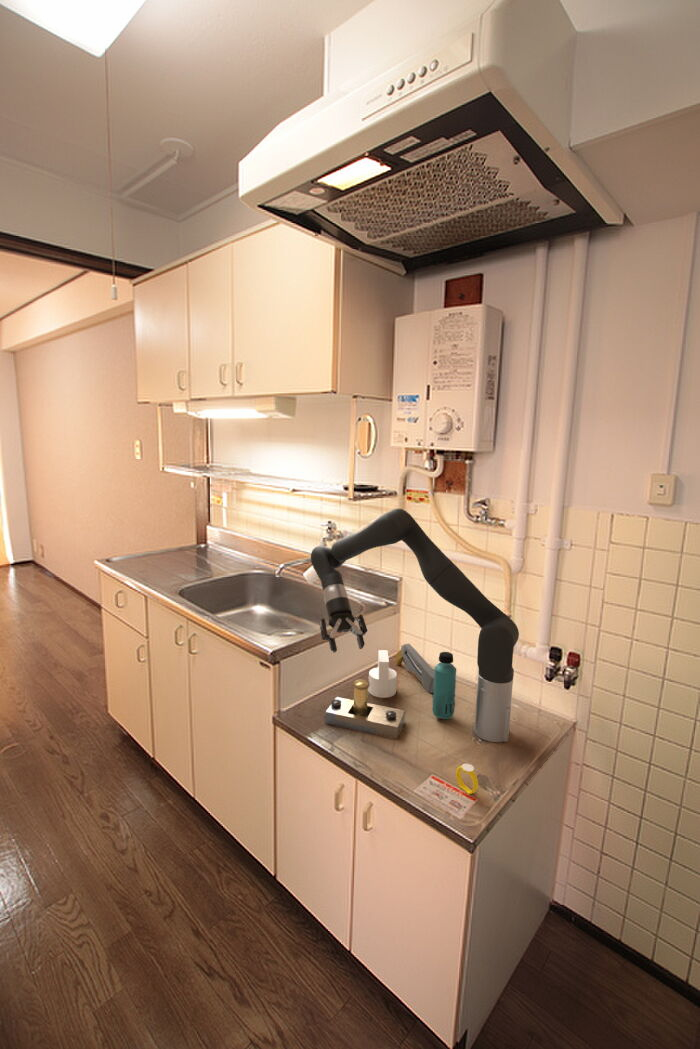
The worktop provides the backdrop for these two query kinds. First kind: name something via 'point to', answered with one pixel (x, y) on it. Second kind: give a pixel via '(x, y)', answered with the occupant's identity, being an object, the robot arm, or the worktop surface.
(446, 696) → the beverage bottle
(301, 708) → the worktop surface
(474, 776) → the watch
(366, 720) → the metal socket block
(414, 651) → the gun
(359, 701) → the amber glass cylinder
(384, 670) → the cylinder with rectangular tab
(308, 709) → the worktop surface
